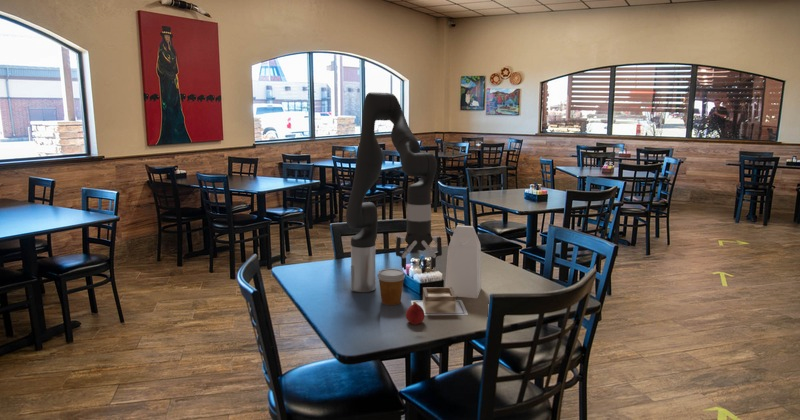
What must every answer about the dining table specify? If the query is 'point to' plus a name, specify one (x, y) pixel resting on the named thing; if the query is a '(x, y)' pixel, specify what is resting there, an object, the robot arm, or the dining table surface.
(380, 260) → the dining table surface
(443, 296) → the square wooden tray
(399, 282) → the disposable coffee cup
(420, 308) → the red round fruit
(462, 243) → the milk
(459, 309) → the board
